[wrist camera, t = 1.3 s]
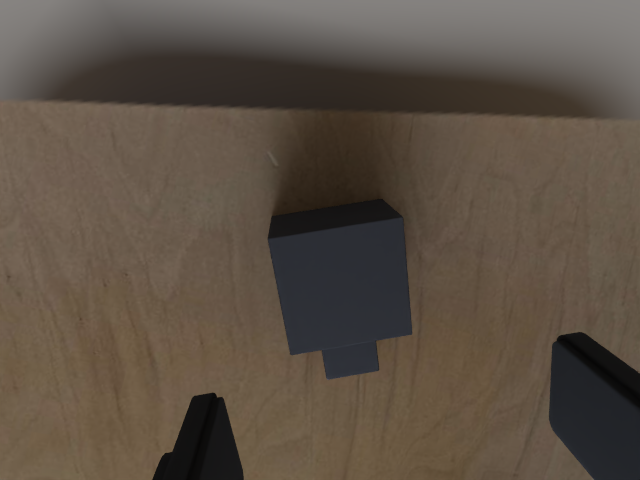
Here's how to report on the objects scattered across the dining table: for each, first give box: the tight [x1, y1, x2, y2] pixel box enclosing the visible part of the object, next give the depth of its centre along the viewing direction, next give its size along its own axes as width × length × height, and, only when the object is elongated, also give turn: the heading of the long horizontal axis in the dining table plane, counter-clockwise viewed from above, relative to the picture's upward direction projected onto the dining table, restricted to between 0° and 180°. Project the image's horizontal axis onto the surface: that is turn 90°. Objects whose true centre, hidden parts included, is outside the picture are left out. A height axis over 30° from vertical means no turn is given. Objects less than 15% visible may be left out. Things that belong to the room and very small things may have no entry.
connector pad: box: [268, 199, 412, 379], centre depth 20 cm, size 6×9×4 cm, turn 8°
